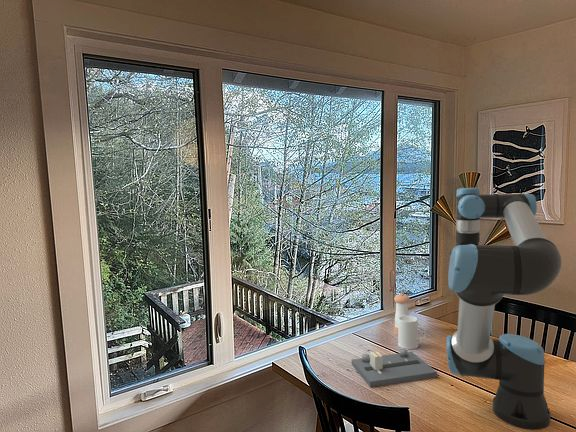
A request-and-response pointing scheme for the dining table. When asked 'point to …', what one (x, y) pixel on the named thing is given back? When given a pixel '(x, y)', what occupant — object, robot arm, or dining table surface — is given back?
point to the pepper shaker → (400, 308)
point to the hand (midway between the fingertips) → (467, 296)
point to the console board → (394, 369)
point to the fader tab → (376, 360)
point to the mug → (408, 332)
